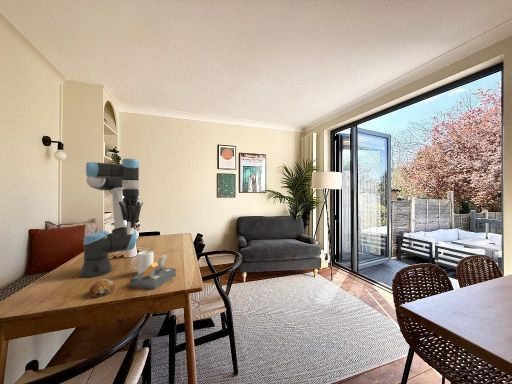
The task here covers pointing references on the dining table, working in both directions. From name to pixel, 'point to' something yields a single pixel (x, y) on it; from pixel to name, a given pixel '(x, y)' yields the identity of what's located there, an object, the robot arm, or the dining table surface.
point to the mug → (143, 260)
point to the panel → (154, 276)
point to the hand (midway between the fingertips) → (130, 233)
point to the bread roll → (101, 288)
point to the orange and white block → (150, 269)
